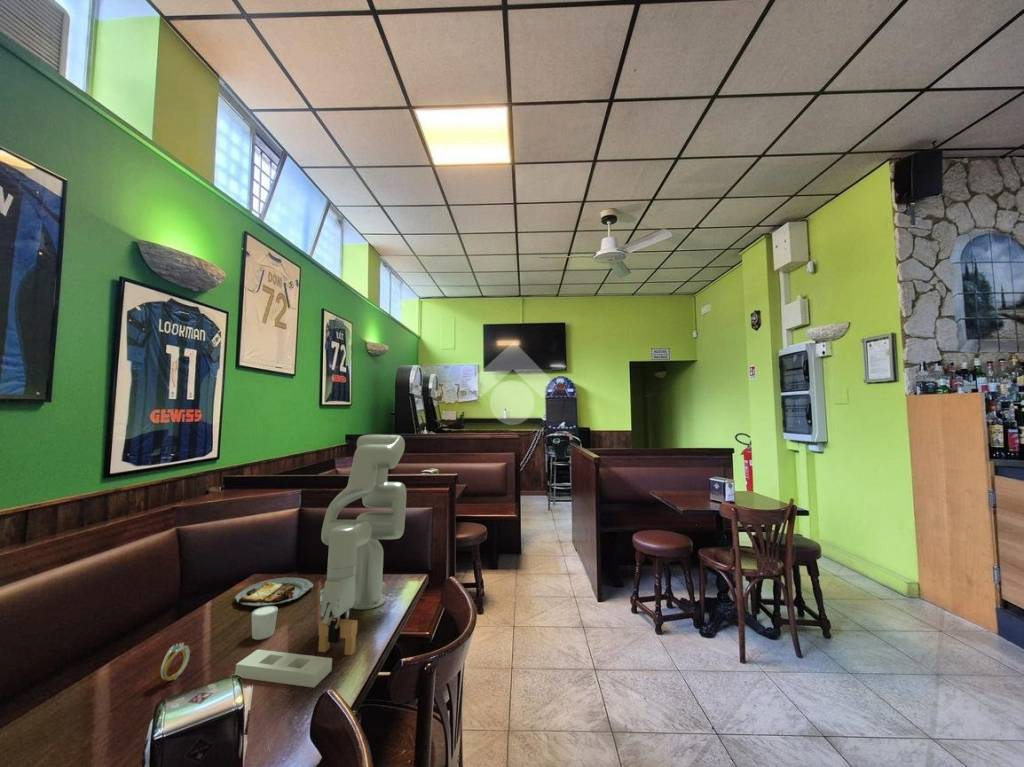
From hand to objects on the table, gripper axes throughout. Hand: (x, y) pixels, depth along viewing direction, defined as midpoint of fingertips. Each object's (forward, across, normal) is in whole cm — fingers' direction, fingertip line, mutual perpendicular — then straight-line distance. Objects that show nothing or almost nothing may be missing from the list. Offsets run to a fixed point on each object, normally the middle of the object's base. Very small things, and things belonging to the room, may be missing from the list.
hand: (337, 638), depth 114 cm
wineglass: (+4, -10, -9) cm, 14 cm away
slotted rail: (+3, +12, -7) cm, 14 cm away
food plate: (+4, -30, -44) cm, 54 cm away
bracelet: (+4, +19, -32) cm, 37 cm away
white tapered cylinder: (+4, -4, -27) cm, 28 cm away
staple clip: (+3, 0, 0) cm, 3 cm away
